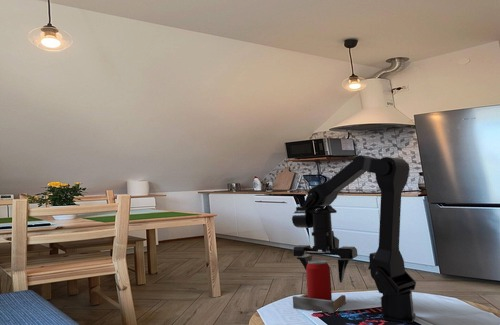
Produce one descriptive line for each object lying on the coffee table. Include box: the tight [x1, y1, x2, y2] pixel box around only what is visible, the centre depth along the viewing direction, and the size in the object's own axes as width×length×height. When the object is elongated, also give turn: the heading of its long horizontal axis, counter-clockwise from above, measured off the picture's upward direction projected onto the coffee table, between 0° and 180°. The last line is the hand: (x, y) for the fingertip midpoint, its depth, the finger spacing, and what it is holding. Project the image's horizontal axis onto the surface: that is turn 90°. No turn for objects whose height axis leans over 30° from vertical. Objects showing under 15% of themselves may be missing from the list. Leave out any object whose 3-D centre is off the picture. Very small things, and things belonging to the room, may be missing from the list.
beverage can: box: [305, 259, 333, 301], centre depth 94 cm, size 7×7×12 cm
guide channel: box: [292, 292, 347, 314], centre depth 94 cm, size 11×11×3 cm
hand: (326, 280), depth 99 cm, fingers open, 9 cm apart
